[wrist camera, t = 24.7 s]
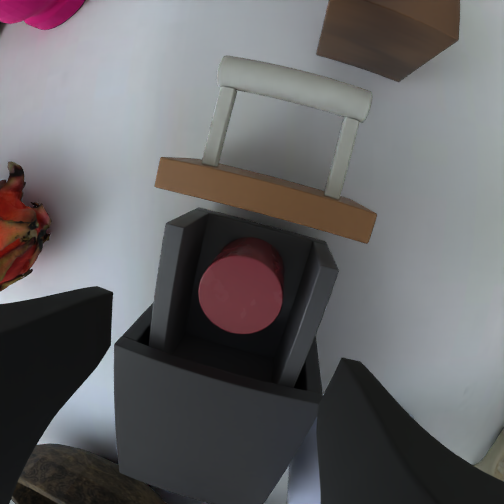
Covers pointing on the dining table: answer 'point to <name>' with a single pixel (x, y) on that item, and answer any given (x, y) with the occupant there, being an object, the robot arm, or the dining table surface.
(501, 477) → the jawbone
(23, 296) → the dining table surface
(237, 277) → the coffee pod
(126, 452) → the open grey box
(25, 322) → the robot arm
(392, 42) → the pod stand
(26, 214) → the dragon fruit
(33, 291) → the dining table surface
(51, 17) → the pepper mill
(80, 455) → the bowl
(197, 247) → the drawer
